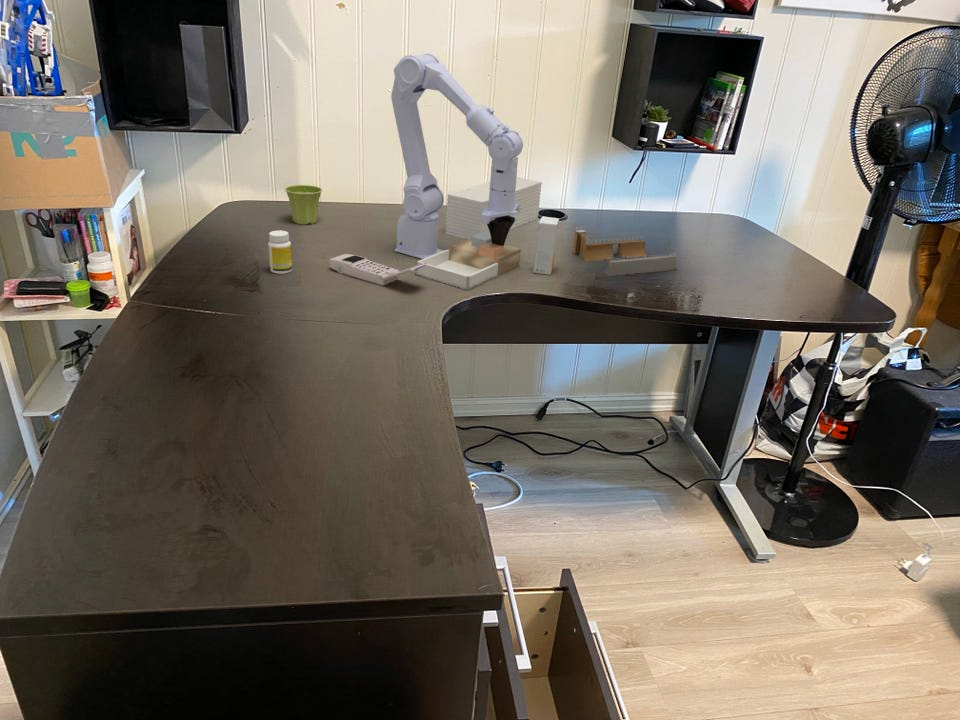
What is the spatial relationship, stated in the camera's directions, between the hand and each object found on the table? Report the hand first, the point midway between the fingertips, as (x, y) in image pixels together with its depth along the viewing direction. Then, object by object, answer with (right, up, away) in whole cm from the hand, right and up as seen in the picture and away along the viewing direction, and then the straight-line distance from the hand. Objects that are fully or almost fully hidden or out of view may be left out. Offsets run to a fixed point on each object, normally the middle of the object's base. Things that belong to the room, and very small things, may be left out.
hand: (497, 247), depth 162 cm
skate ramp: (+30, 0, +17) cm, 34 cm away
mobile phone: (-27, -8, -8) cm, 30 cm away
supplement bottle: (-47, -6, -9) cm, 49 cm away
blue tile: (-3, +1, +4) cm, 5 cm away
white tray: (-9, -7, -4) cm, 12 cm away
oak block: (-3, -3, +4) cm, 6 cm away
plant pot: (-50, +11, +25) cm, 57 cm away
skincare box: (+11, -5, +3) cm, 12 cm away
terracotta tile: (-2, -2, -2) cm, 3 cm away
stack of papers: (0, +11, +34) cm, 36 cm away
